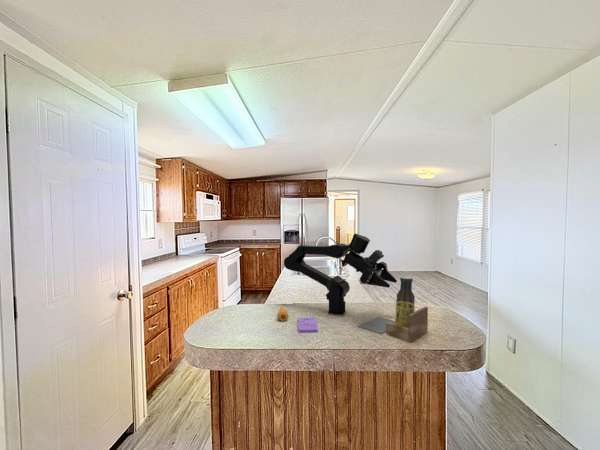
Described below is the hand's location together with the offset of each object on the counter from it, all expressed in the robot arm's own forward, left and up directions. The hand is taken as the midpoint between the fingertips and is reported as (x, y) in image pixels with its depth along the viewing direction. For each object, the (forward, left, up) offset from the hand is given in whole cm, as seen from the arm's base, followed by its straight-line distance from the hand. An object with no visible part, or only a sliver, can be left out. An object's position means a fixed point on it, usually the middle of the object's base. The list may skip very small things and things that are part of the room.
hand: (393, 284), depth 116 cm
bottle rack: (+3, -9, -15) cm, 18 cm away
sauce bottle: (+3, -9, -15) cm, 18 cm away
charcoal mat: (-5, -3, -15) cm, 16 cm away
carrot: (-45, +2, -16) cm, 47 cm away
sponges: (-32, -10, -16) cm, 37 cm away
